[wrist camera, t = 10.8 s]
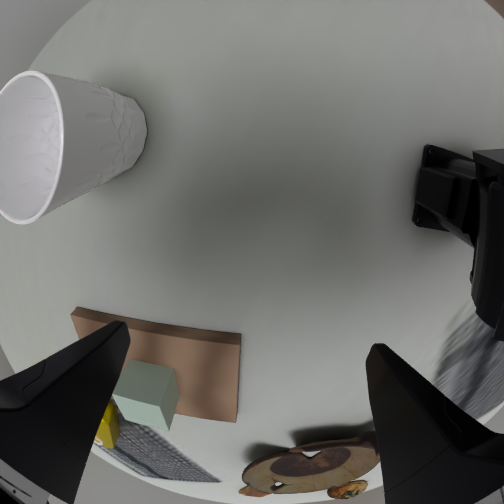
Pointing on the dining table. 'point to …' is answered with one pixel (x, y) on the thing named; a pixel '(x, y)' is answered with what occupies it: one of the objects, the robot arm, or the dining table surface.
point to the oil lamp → (314, 466)
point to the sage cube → (147, 394)
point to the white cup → (62, 141)
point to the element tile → (108, 428)
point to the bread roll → (347, 490)
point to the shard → (253, 492)
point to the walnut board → (182, 361)
